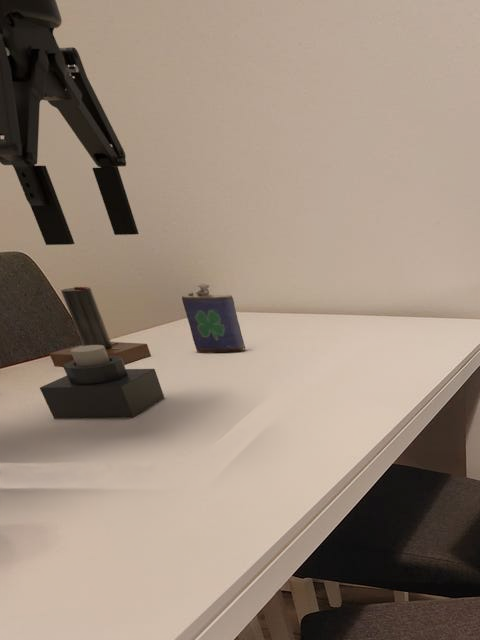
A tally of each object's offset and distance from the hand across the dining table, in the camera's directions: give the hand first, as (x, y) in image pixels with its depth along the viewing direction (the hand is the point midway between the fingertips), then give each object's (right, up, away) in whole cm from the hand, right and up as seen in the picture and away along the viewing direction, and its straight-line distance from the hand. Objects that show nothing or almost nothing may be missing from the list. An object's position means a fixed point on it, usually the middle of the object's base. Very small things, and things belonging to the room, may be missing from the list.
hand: (96, 239), depth 68 cm
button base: (-7, -14, +14) cm, 21 cm away
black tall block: (-23, +5, +35) cm, 42 cm away
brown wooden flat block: (-23, +3, +37) cm, 43 cm away
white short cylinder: (-7, -10, +10) cm, 16 cm away
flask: (-4, +7, +41) cm, 41 cm away
